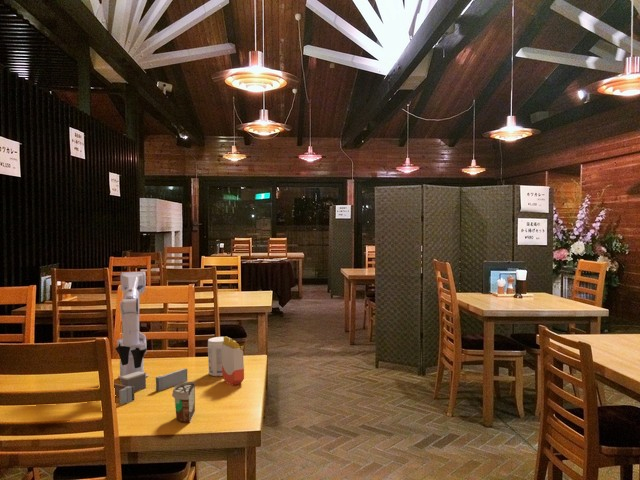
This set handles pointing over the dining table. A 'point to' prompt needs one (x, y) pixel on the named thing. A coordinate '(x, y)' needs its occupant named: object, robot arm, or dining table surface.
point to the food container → (184, 401)
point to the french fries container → (232, 362)
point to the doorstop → (135, 380)
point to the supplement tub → (215, 355)
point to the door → (119, 387)
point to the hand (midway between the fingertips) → (131, 366)
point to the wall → (157, 384)
